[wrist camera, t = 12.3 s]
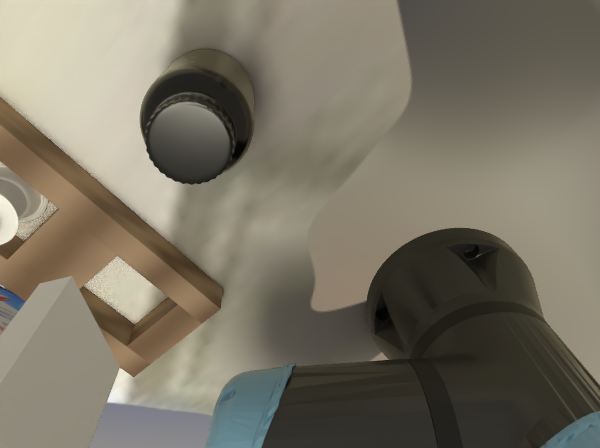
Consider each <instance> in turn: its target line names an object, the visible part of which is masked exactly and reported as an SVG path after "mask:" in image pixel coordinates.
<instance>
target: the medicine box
mask: <svg viewBox="0 0 600 448" xmlns="http://www.w3.org/2000/svg"><path fill="white" fill-rule="evenodd" d="M25 302H26V301H24V300H23V299H21V298H20V297H19V296H17V295H16V294H14V293H11V292H9V291H7V290H4V289H2V288H0V336H1V334H2V333H3V332H4V330H5V329H6V328H7V326H8V325H9V324H10V322H11V321H12V320H13V318H14V317H15V316H16V314H17V313H18V312H19V310H20V309H21V308H22V306H23V305H24V304H25Z"/></svg>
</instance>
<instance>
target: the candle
mask: <svg viewBox="0 0 600 448" xmlns="http://www.w3.org/2000/svg"><path fill="white" fill-rule="evenodd" d="M47 205H48V199H46V198H45V197H44V196H43V195H41V194H40V193H39V192H38V191H36V190H35V189H34V188H33V187H31V186H30V185H29V184H28V183H27V182H25V181H24V180H23V179H22V178H20V177H19V176H18V175H17V174H15V173H14V172H13V171H12V170H10V169H9V168H8V167H7V166H5V165H4V164H3V163H2V162H0V245H1V244H4V243H6V242H8V241H10V240H11V239H12V238H13V237H14V236H15V234H16V233H17V230H18V226H19V222H28V221H32V220H34V219H36V218H38V217H39V216H41V215H42V214H43V212H44V211H45V209H46V207H47Z"/></svg>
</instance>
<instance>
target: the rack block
mask: <svg viewBox="0 0 600 448" xmlns="http://www.w3.org/2000/svg"><path fill="white" fill-rule="evenodd" d="M0 162H2V163H3V164H4V165H5V166H7V167H8V168H9V169H10V170H12V171H13V172H14V173H15V174H17V175H18V176H19V177H20V178H22V179H23V180H24V181H25V182H27V183H28V184H29V185H30V186H31V187H33V188H34V189H35V190H36V191H38V192H39V193H40V194H41V195H43V196H44V197H45V198H46V199H48V200H49V201H50V202H51V203H53V204H54V205H55V206H56V207H58V209H57V210H56V211H55V212H54V213H53V214H52V215H51V216H50V217H49V218H48V219H47V220H46V221H45V222H44V223H43V224H42V225H41V226H40V227H38V228H37V229H36V230H35V231H34V232H33V233H32V234H31V235H30V236H29V237H28V238H27V239H26V240H25V241H22V240H21V239H20V238H18V237H17V236H16V235H15V236H14V237H13V238H12V239H11V240H10V241H8V242H6V243H4V244H1V245H0V284H1V285H3V286H4V287H6V288H7V289H9V290H10V291H11V292H13V293H14V294H16V295H17V296H19V297H20V298H21V299H23V300H24V301H27V300H28V298H29V297H30V296H31V294H32V293H33V292H34V290H35V289H36V288H37V286H38V285H39V284H40V283H44V282H48V281H53V280H57V279H61V278H65V277H69V276H72V277H73V279H74V281H75V283H76V285H77V286H78V288H79V290H80V292H81V294H82V296H83V298H84V300H85V302H86V304H87V305H88V307H89V309H90V311H91V313H92V315H93V317H94V319H95V321H96V323H97V324H98V326H99V328H100V330H101V332H102V334H103V336H104V338H105V340H106V341H107V343H108V345H109V347H110V349H111V351H112V353H113V355H114V357H115V359H116V360H117V362H118V364H119V366H120V368H121V369H123V370H124V371H126V372H127V373H129V374H130V375H131V376H133V377H135V376H136V375H137V374H138V373H140V372H141V371H142V370H144V369H145V368H146V367H147V366H149V365H150V364H151V363H152V362H154V361H155V360H156V359H158V358H159V357H160V356H161V355H163V354H164V353H165V352H166V351H168V350H169V349H170V348H171V347H173V346H174V345H175V344H177V343H178V342H179V341H180V340H182V339H183V338H184V337H185V336H187V335H188V334H189V333H191V332H192V331H193V330H194V329H196V328H197V327H198V326H199V325H201V324H202V323H203V322H204V321H206V320H207V319H208V318H210V317H211V316H212V315H213V314H215V313H216V312H217V311H218V310H220V308H221V301H222V294H223V289H222V288H221V287H220V286H219V285H218V284H217V283H215V282H214V281H213V280H212V279H211V278H210V277H208V276H207V275H206V274H205V273H204V272H203V271H201V270H200V269H199V268H198V267H197V266H196V265H194V264H193V263H192V262H191V261H190V260H189V259H187V258H186V257H185V256H184V255H183V254H182V253H180V252H179V251H178V250H177V249H176V248H175V247H173V246H172V245H171V244H170V243H169V242H168V241H167V240H165V239H164V238H163V237H162V236H161V235H160V234H158V233H157V232H156V231H155V230H154V229H153V228H151V227H150V226H149V225H148V224H147V223H146V222H144V221H143V220H142V219H141V218H140V217H139V216H137V215H136V214H135V213H134V212H133V211H132V210H130V209H129V208H128V207H127V206H126V205H125V204H123V203H122V202H121V201H120V200H119V199H118V198H116V197H115V196H114V195H113V194H112V193H111V192H110V191H108V190H107V189H106V188H105V187H104V186H103V185H101V184H100V183H99V182H98V181H97V180H96V179H94V178H93V177H92V176H91V175H90V174H89V173H87V172H86V171H85V170H84V169H83V168H82V167H80V166H79V165H78V164H77V163H76V162H75V161H73V160H72V159H71V158H70V157H69V156H68V155H66V154H65V153H64V152H63V151H62V150H61V149H60V148H58V147H57V146H56V145H55V144H54V143H53V142H51V141H50V140H49V139H48V138H47V137H46V136H44V135H43V134H42V133H41V132H40V131H39V130H37V129H36V128H35V127H34V126H33V125H32V124H30V123H29V122H28V121H27V120H26V119H25V118H23V117H22V116H21V115H20V114H19V113H18V112H16V111H15V110H14V109H13V108H12V107H11V106H9V105H8V104H7V103H6V102H5V101H4V100H3V99H1V98H0ZM116 256H118V257H120V258H121V259H122V260H123V261H125V262H126V263H127V264H128V265H130V266H131V267H132V268H133V269H135V270H136V271H137V272H138V273H140V274H141V275H142V276H143V277H145V278H146V279H147V280H148V281H150V282H151V283H152V284H153V285H154V286H156V287H157V288H158V289H159V290H161V291H162V292H163V293H164V294H166V295H167V296H168V298H167V299H166V300H165V301H163V302H162V303H161V304H160V305H158V306H157V307H156V308H155V309H154V310H152V311H151V312H150V313H149V314H148V315H146V316H145V317H144V318H143V319H142V320H140V321H139V322H138V323H137V324H135V325H134V324H133V323H131V322H130V321H129V320H127V319H126V318H125V317H123V316H122V315H121V314H119V313H118V312H117V311H115V310H114V309H113V308H111V307H110V306H109V305H107V304H106V303H105V302H103V301H102V300H101V299H99V298H98V297H97V296H95V295H94V294H93V293H91V292H90V291H89V290H87V289H86V288H85V287H83V286H84V285H85V284H86V283H87V282H88V281H89V280H90V279H91V278H93V277H94V276H95V275H96V274H97V273H98V272H99V271H100V270H102V269H103V268H104V267H105V266H106V265H107V264H108V263H109V262H111V261H112V260H113V259H114V258H115V257H116Z"/></svg>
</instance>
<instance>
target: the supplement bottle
mask: <svg viewBox="0 0 600 448" xmlns="http://www.w3.org/2000/svg"><path fill="white" fill-rule="evenodd" d="M140 128H141V133H142V136H143V139H144V141H145V144H146V146H147V150H146V151H147V152H148V154H149V158H150V159H151V160H152V161H153V164H154V166H155V167H157V168H158V169H159V171H160V172H161V173H163V174H165V175H166V177H168V178H172V179H173V180H174V181H177V182H181V183H183V184H185V183H188V184H191V185H192V184H195V183H197V184H201V183H202V182H208V181H210V180H211V179H215V178H216V177H217V175H220V174H222V173H224V172H226V171H228V170H229V169H231V168H232V167H234V166H235V165H236V164H237V163H238V162H239V161H240V160H241V159H242V158H243V156H244V155H245V153H246V152H247V150H248V148H249V146H250V143H251V140H252V136H253V128H254V91H253V87H252V83H251V81H250V78H249V76H248V74H247V73H246V71H245V70H244V68H243V67H242V66H241V65H240V64H239V63H238V62H237V61H236V60H235V59H233V58H232V57H230V56H229V55H227V54H225V53H222V52H220V51H216V50H211V49H199V50H194V51H191V52H188V53H186V54H184V55H182V56H180V57H179V58H178V59H176V60H175V61H174V62H173V63H172V64H171V65H170V66H169V67H168V68H167V69H166V70H165V71H164V72H163V73H162V74H161V75H160V77H159V78H158V79H157V80H156V81H155V82H154V83H153V84H152V85H151V87H150V88H149V90H148V91H147V93H146V95H145V97H144V99H143V102H142V105H141V110H140Z"/></svg>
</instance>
